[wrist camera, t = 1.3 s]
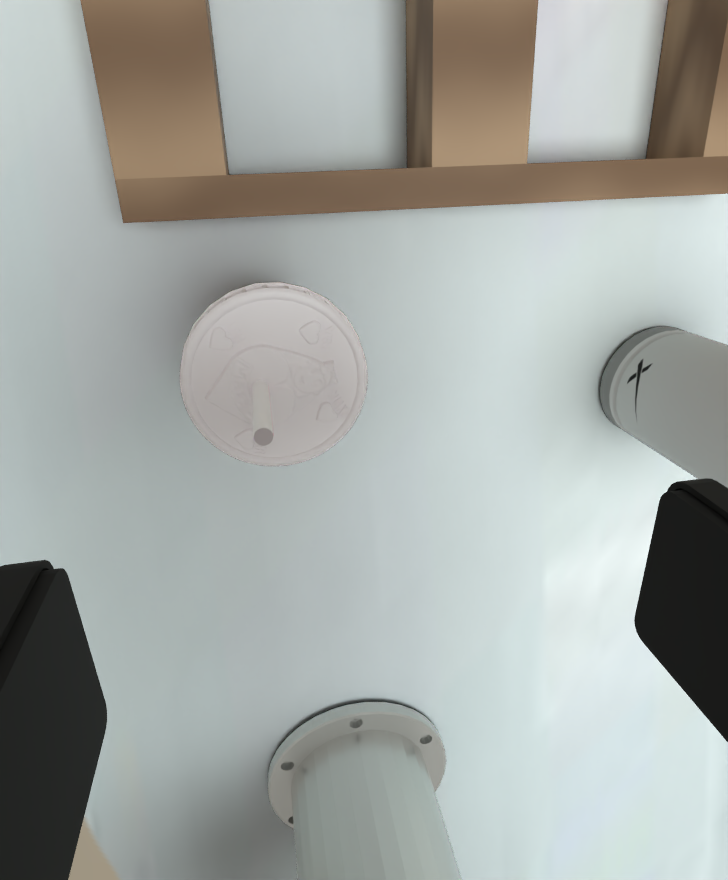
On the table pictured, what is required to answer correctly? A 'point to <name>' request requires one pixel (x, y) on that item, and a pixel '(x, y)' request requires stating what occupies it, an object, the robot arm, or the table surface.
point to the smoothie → (273, 374)
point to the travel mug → (672, 398)
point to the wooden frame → (428, 117)
